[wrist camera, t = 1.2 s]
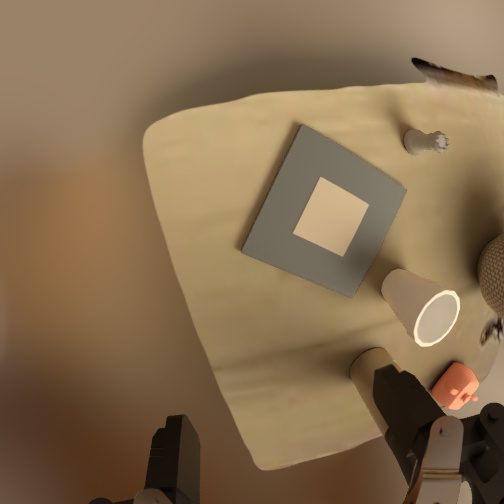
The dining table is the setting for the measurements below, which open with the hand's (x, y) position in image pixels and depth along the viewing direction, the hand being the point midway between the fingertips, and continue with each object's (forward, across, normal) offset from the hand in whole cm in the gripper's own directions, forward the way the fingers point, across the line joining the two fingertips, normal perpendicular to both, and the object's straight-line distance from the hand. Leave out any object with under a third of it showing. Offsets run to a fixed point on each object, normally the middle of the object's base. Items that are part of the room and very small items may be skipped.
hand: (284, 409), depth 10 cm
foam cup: (+32, -25, +16) cm, 44 cm away
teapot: (+33, -47, +52) cm, 77 cm away
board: (+32, -14, +1) cm, 35 cm away
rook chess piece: (+32, -31, -9) cm, 45 cm away
